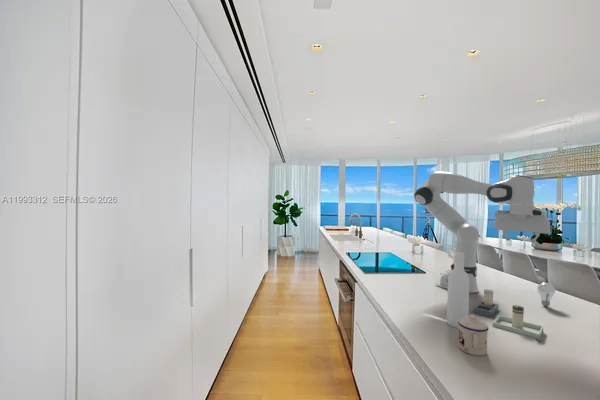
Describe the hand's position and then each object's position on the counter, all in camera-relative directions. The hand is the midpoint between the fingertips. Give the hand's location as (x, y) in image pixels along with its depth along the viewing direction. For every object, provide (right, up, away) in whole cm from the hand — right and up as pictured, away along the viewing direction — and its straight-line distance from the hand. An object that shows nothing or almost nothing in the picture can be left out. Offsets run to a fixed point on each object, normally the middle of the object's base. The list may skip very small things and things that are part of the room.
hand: (520, 241), depth 133 cm
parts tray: (-12, -34, -14) cm, 39 cm away
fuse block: (-14, -34, +3) cm, 37 cm away
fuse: (-11, -33, +5) cm, 35 cm away
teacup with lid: (-41, -33, -32) cm, 62 cm away
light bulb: (+24, -35, +15) cm, 45 cm away
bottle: (-34, -33, -11) cm, 49 cm away
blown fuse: (-12, -33, -14) cm, 38 cm away
